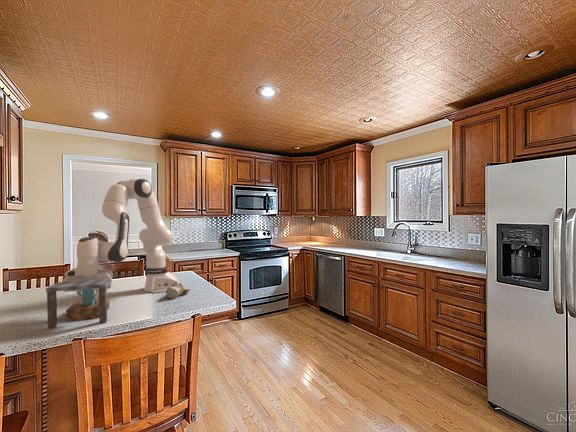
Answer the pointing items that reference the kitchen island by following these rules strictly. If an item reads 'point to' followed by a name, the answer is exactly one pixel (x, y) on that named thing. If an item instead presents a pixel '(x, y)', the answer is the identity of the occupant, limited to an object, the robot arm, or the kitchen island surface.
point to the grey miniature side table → (77, 309)
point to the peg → (88, 297)
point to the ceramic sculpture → (176, 290)
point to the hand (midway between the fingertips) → (88, 299)
